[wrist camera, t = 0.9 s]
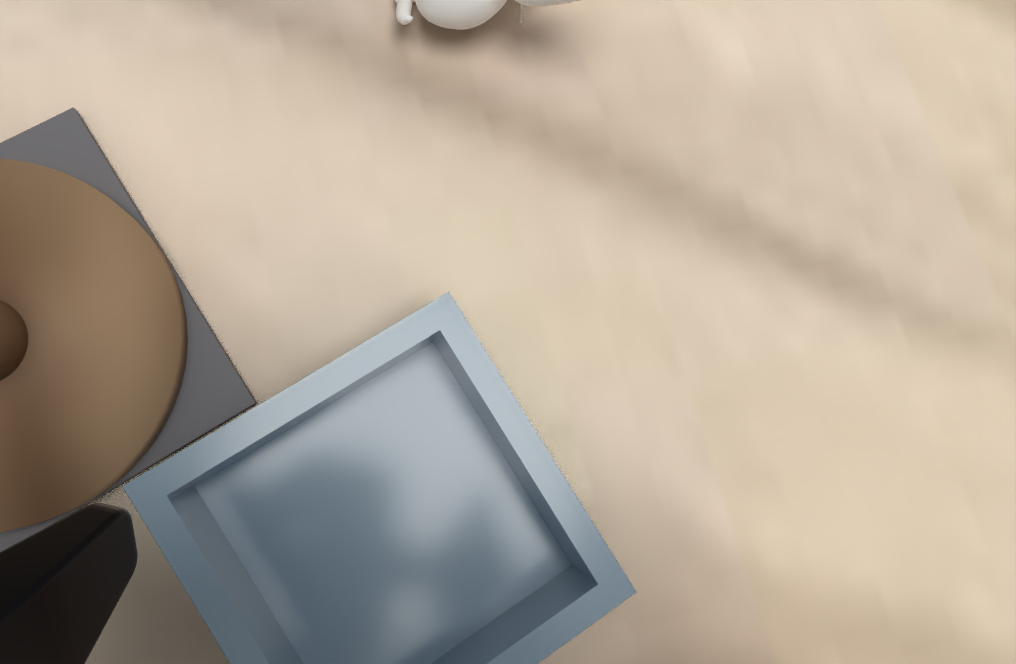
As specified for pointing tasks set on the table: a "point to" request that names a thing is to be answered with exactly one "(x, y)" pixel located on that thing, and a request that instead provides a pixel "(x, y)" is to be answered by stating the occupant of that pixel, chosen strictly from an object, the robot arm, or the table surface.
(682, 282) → the table surface
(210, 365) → the mat
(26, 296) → the lid
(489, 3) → the rabbit figurine
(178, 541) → the dish
